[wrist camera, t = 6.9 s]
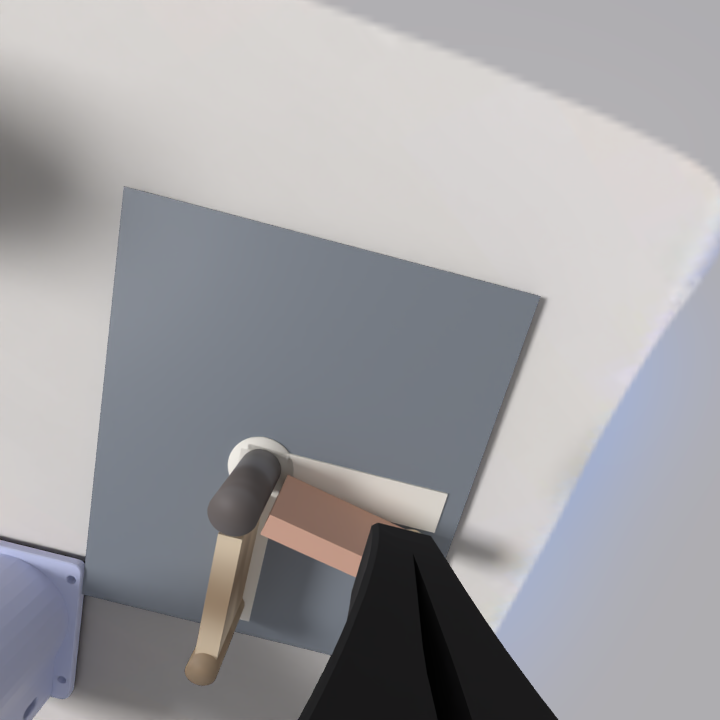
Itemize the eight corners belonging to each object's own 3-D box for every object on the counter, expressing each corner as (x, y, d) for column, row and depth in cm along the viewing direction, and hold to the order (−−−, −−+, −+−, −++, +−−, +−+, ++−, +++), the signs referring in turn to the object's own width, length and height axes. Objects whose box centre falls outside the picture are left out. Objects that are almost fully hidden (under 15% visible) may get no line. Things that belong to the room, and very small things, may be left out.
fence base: (248, 616, 19) (220, 690, 16) (211, 607, 19) (176, 679, 16) (285, 454, 17) (262, 498, 14) (244, 443, 17) (211, 485, 14)
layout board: (403, 665, 20) (404, 674, 20) (87, 588, 20) (80, 595, 19) (536, 295, 16) (541, 296, 15) (130, 188, 15) (122, 185, 15)
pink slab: (277, 494, 17) (256, 541, 14) (289, 471, 17) (270, 513, 14) (416, 558, 18) (425, 617, 15) (430, 536, 18) (442, 592, 14)
